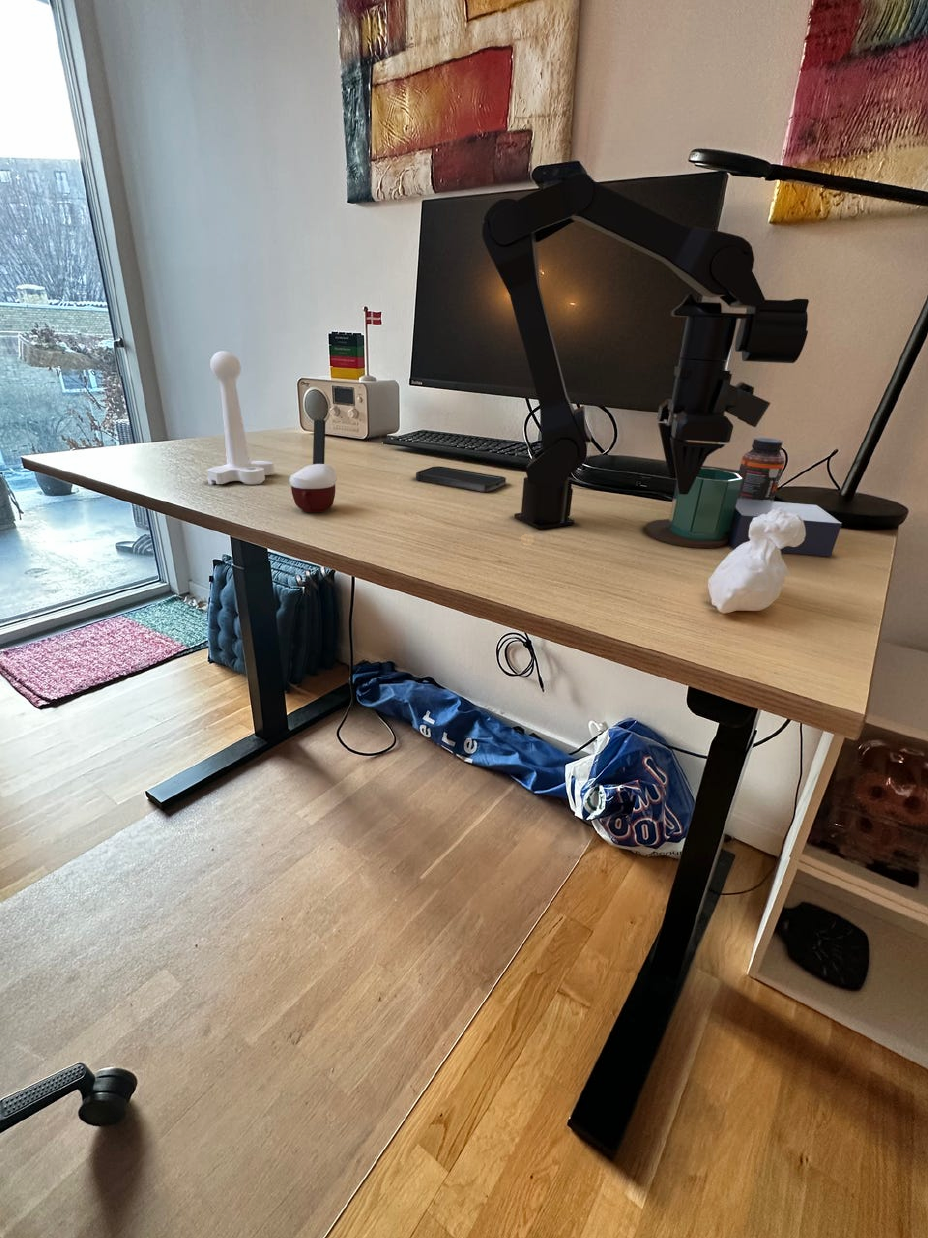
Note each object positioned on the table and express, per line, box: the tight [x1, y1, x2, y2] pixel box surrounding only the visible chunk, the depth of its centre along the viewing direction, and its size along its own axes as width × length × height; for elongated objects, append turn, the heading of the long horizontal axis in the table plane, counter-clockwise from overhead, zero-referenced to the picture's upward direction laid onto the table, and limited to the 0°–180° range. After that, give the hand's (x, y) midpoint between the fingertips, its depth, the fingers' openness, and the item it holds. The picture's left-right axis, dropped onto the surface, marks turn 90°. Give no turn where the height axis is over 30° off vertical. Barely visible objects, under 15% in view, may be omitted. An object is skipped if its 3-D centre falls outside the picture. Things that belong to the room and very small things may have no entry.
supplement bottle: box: [737, 437, 785, 502], centre depth 90 cm, size 6×6×11 cm
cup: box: [668, 467, 743, 540], centre depth 79 cm, size 8×8×8 cm
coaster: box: [645, 518, 729, 549], centre depth 81 cm, size 11×11×1 cm
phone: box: [415, 465, 507, 493], centre depth 103 cm, size 8×1×15 cm
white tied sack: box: [707, 508, 806, 614], centre depth 58 cm, size 12×8×11 cm
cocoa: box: [288, 418, 338, 513], centre depth 83 cm, size 10×6×12 cm, turn 153°
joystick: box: [205, 350, 276, 486], centre depth 94 cm, size 11×8×20 cm
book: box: [727, 499, 843, 558], centre depth 79 cm, size 12×9×4 cm
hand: (678, 485), depth 78 cm, fingers open, 9 cm apart
